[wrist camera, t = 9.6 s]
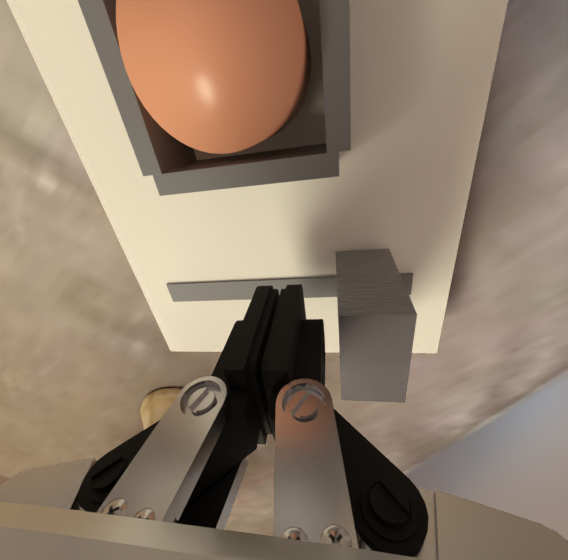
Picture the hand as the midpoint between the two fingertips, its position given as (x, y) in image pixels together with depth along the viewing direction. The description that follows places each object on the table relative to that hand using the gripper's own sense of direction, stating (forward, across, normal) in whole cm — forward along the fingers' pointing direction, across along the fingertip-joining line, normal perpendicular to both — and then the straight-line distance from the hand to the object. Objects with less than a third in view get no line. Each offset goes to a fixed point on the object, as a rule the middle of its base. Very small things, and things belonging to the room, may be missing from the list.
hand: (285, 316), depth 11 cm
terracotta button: (+2, 0, -8) cm, 8 cm away
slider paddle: (+2, -3, 0) cm, 3 cm away
